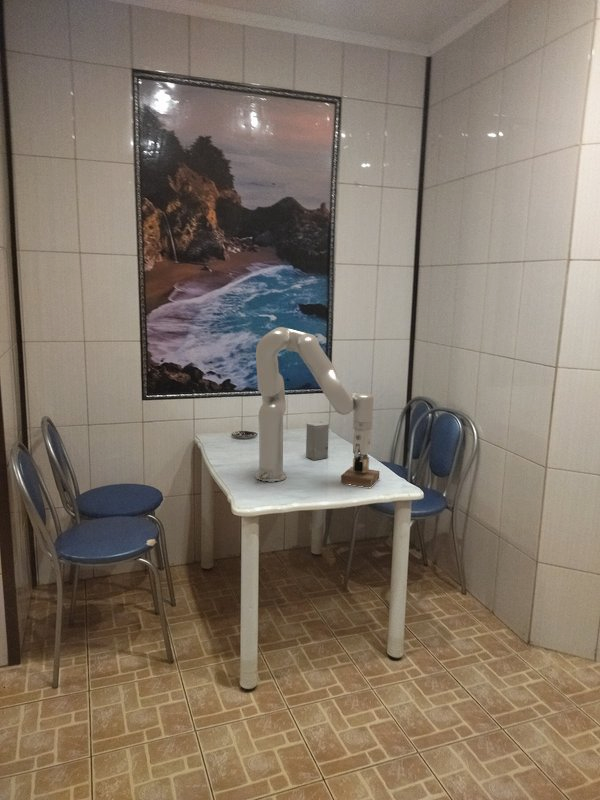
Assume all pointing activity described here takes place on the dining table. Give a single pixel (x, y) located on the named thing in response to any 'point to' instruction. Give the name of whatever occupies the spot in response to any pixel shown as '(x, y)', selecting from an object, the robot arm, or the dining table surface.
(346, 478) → the walnut block
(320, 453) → the skincare box
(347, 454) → the dining table surface
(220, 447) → the dining table surface
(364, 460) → the maple cube
